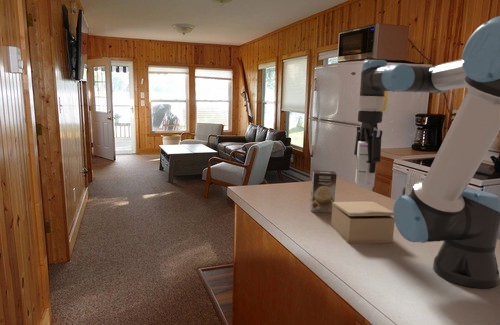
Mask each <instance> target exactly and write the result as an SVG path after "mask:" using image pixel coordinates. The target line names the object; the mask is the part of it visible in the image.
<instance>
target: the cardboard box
mask: <svg viewBox="0 0 500 325" xmlns="http://www.w3.org/2000/svg"><path fill="white" fill-rule="evenodd" d="M330 223H331V224H330V227H331V228H333V230H335V232H337V233H338V234H339V236H341V237H342V239H343V240H345V242H346V243H348V244H371V243H372V244H374V243H375V244H376V243H379V244H380V243H393V242H394V232H395V220H394V216H393V215H392V216H349V215H348V214H346V213H345V212H343V211H342V210H340V209H339V208H337V207H336V206H334V205H333V204H332V213H331V220H330Z"/></svg>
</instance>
